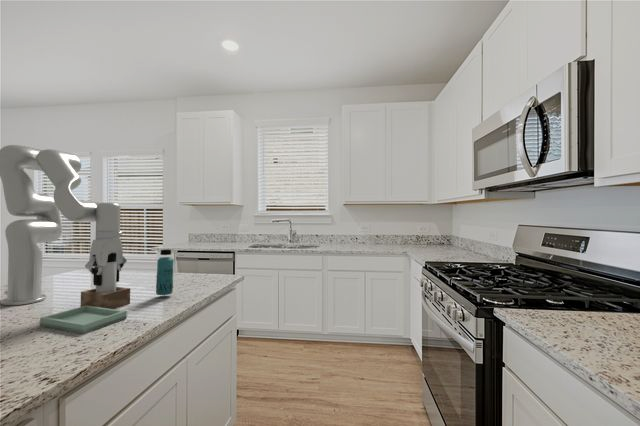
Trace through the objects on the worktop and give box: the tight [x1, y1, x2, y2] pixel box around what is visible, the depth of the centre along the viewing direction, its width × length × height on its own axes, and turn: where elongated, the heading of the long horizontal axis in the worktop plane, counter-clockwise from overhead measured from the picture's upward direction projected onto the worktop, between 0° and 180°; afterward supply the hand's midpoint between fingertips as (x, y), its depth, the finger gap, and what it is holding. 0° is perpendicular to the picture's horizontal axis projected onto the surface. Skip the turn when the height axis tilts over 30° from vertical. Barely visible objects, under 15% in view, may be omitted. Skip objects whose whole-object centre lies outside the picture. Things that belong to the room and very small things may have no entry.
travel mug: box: [95, 253, 117, 294], centre depth 115 cm, size 6×7×20 cm
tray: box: [39, 305, 128, 335], centre depth 98 cm, size 18×14×2 cm
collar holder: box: [80, 286, 131, 309], centre depth 115 cm, size 11×10×6 cm
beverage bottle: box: [155, 248, 175, 296], centre depth 130 cm, size 6×7×20 cm
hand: (106, 282), depth 115 cm, fingers closed on travel mug, 6 cm apart
